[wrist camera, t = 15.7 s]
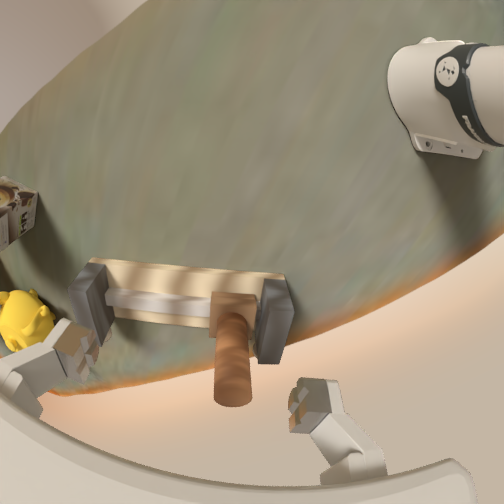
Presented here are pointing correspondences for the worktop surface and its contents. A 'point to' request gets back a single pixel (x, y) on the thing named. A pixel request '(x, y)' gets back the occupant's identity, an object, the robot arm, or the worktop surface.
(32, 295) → the teapot
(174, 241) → the worktop surface
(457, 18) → the worktop surface
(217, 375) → the wooden peg on plate
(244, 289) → the track
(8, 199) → the coffee box
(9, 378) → the robot arm
